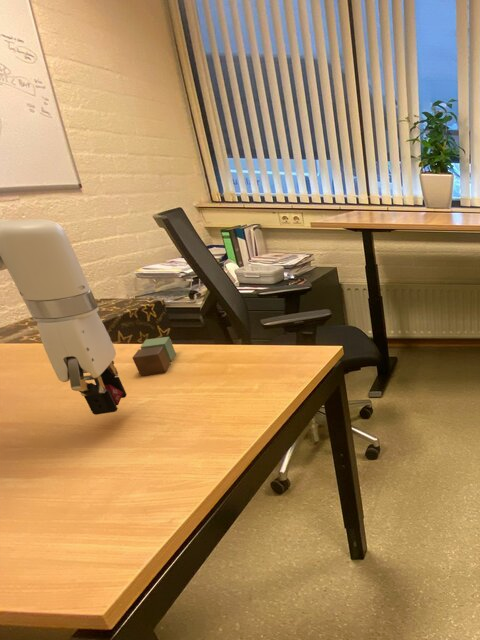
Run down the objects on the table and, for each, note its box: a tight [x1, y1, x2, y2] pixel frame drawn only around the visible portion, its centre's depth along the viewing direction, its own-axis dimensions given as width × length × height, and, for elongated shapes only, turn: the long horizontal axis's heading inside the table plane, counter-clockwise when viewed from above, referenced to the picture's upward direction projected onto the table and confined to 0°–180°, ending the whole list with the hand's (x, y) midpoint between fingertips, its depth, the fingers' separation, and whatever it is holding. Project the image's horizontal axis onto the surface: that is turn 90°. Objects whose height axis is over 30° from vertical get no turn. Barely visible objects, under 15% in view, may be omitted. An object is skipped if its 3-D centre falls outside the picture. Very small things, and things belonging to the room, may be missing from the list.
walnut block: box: [132, 346, 171, 377], centre depth 91 cm, size 4×4×4 cm
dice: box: [104, 385, 123, 406], centre depth 72 cm, size 4×4×4 cm
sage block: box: [140, 336, 177, 363], centre depth 96 cm, size 4×4×4 cm
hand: (110, 404), depth 73 cm, fingers closed on dice, 4 cm apart
